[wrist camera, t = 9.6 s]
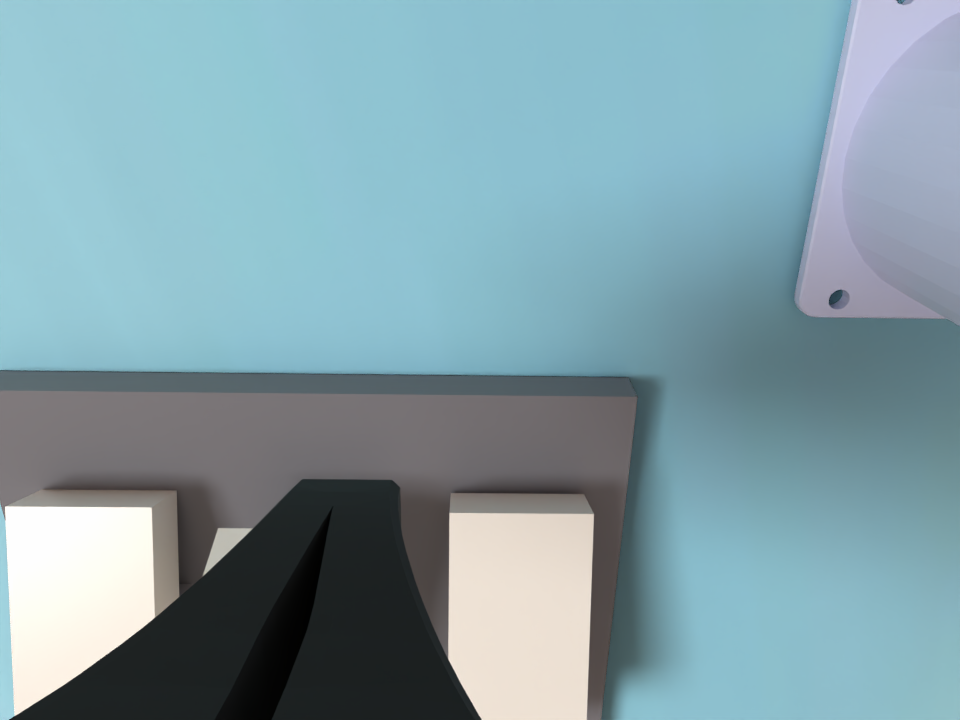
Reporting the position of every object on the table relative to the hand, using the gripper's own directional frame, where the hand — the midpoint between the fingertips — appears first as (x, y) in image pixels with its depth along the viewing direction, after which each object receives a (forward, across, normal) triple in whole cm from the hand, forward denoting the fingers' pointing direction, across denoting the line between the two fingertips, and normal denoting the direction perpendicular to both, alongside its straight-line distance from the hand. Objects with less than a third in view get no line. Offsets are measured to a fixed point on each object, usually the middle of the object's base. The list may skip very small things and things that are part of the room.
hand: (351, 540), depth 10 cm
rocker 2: (+7, -3, +8) cm, 11 cm away
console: (+10, +2, +8) cm, 13 cm away
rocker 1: (+7, +8, +8) cm, 13 cm away
